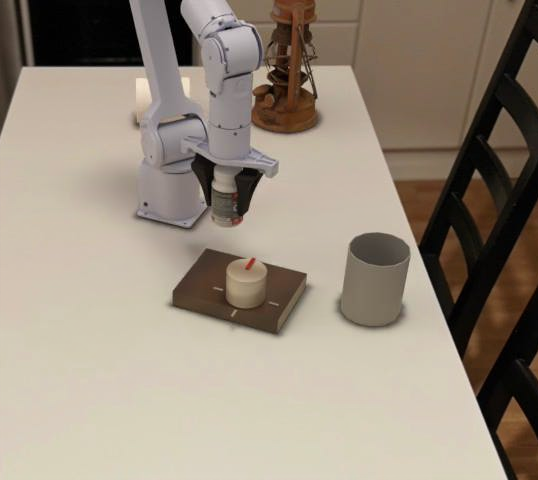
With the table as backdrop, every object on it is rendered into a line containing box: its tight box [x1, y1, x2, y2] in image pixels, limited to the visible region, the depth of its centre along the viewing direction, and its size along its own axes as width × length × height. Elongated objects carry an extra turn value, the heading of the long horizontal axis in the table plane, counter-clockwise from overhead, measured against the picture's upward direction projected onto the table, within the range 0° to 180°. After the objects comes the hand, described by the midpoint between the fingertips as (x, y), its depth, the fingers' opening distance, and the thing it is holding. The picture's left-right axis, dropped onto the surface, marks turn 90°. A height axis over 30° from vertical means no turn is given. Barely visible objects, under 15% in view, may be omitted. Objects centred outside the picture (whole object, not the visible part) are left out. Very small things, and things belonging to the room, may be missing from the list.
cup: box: [340, 231, 412, 327], centre depth 127 cm, size 8×8×10 cm
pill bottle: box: [210, 164, 244, 229], centre depth 132 cm, size 5×5×8 cm
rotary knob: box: [226, 257, 267, 309], centre depth 127 cm, size 6×6×5 cm
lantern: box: [251, 0, 319, 134], centre depth 163 cm, size 17×13×30 cm
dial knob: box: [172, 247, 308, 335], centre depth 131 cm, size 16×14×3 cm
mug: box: [135, 76, 192, 124], centre depth 171 cm, size 12×10×8 cm
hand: (227, 208), depth 133 cm, fingers closed on pill bottle, 5 cm apart
